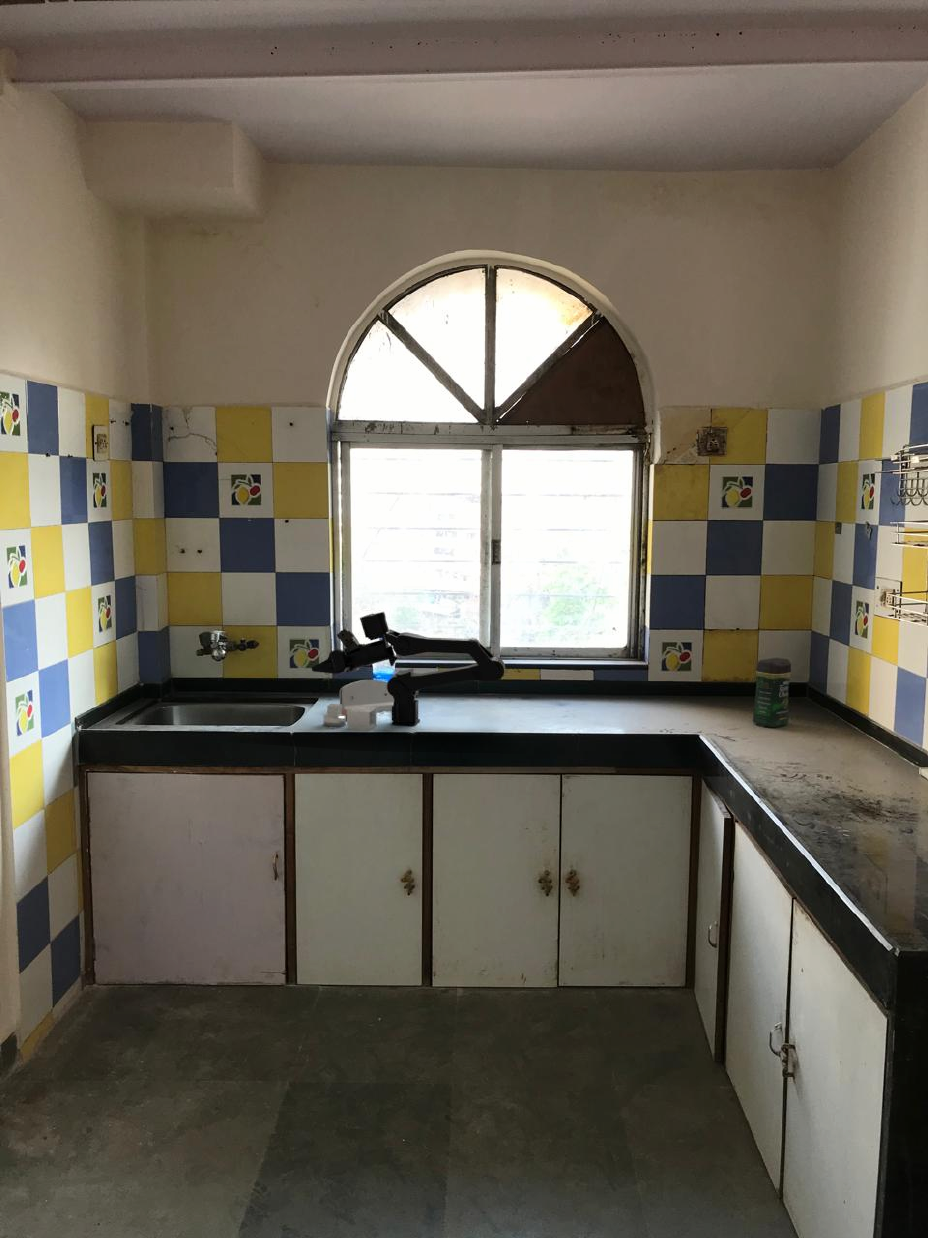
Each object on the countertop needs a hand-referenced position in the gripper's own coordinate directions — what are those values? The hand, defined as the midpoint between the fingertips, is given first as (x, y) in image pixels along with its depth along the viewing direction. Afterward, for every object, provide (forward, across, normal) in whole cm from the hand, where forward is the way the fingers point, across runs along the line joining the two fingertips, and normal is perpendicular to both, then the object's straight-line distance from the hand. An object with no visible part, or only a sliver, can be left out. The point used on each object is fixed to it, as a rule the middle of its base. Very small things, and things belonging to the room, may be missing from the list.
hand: (316, 669), depth 265 cm
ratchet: (-2, -1, +16) cm, 16 cm away
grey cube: (-9, +4, +19) cm, 21 cm away
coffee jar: (-115, -18, +49) cm, 126 cm away
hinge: (-6, -17, +15) cm, 24 cm away
